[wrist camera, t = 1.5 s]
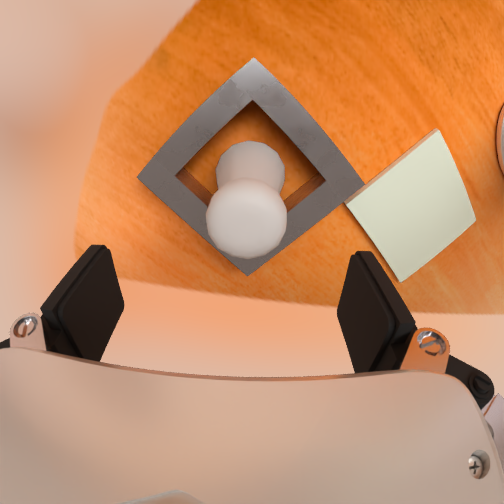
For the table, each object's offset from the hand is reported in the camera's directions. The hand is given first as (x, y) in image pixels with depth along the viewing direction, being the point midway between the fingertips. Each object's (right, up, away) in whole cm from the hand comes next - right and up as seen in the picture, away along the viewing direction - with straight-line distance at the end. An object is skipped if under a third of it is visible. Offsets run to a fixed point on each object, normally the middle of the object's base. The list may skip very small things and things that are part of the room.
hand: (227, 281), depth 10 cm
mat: (+19, +6, +16) cm, 26 cm away
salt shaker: (+1, +9, +15) cm, 17 cm away
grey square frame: (+1, +9, +15) cm, 17 cm away
